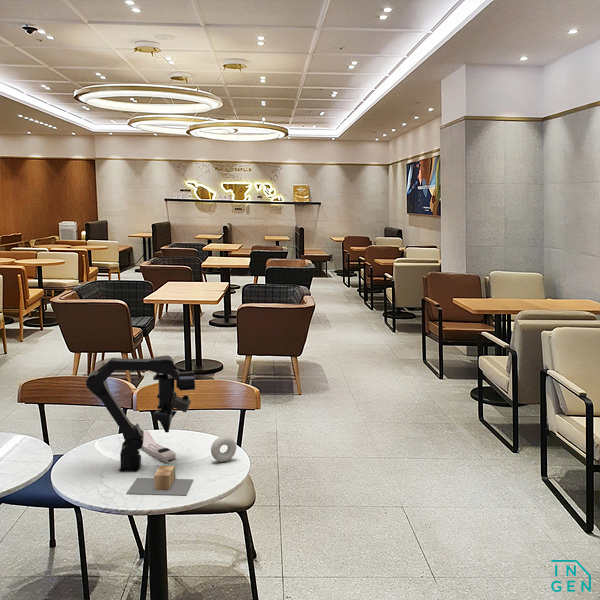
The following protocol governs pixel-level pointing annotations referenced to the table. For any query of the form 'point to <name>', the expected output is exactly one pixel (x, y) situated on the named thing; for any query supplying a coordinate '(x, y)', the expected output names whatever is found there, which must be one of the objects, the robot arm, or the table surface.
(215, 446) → the donut
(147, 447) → the mobile phone
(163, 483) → the oak block
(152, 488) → the charcoal mat
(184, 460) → the table surface
